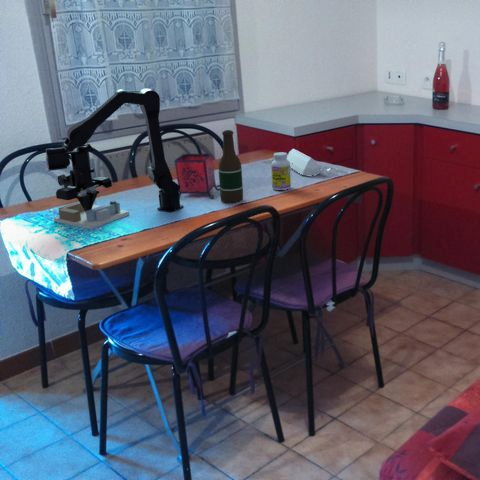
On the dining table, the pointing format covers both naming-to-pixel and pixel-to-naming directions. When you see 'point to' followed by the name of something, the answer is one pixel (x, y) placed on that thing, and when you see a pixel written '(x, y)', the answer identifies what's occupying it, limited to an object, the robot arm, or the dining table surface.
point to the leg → (112, 206)
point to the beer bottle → (230, 171)
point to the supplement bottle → (280, 172)
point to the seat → (77, 216)
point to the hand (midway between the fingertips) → (88, 213)
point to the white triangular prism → (302, 163)
